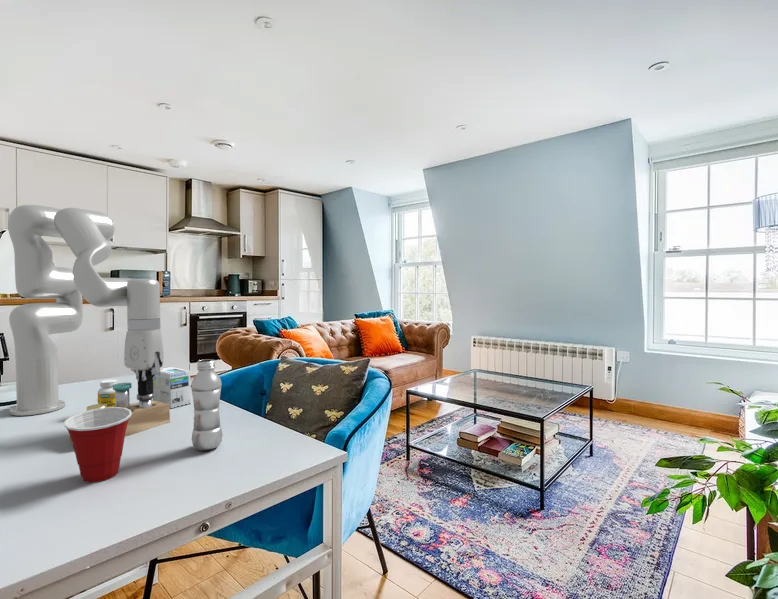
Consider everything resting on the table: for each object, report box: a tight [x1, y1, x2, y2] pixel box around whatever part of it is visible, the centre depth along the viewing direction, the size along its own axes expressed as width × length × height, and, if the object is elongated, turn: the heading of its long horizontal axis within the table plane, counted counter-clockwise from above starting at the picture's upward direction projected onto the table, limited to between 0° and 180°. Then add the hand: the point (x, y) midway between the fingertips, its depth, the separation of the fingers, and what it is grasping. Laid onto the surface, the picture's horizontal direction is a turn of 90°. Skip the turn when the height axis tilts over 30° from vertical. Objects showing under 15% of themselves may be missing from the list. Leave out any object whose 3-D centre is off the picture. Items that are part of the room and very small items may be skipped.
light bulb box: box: [152, 366, 192, 409], centre depth 129 cm, size 11×7×11 cm, turn 58°
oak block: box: [68, 399, 171, 444], centre depth 105 cm, size 8×20×5 cm, turn 154°
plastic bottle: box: [190, 358, 224, 451], centre depth 94 cm, size 6×7×20 cm
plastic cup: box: [63, 407, 132, 483], centre depth 80 cm, size 11×11×12 cm
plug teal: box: [113, 382, 132, 410], centre depth 104 cm, size 4×4×8 cm
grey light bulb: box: [136, 393, 154, 409], centre depth 110 cm, size 4×4×8 cm
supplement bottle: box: [97, 379, 118, 407], centre depth 119 cm, size 5×5×10 cm
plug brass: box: [86, 403, 107, 411], centre depth 99 cm, size 4×4×8 cm
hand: (145, 394), depth 110 cm, fingers closed
